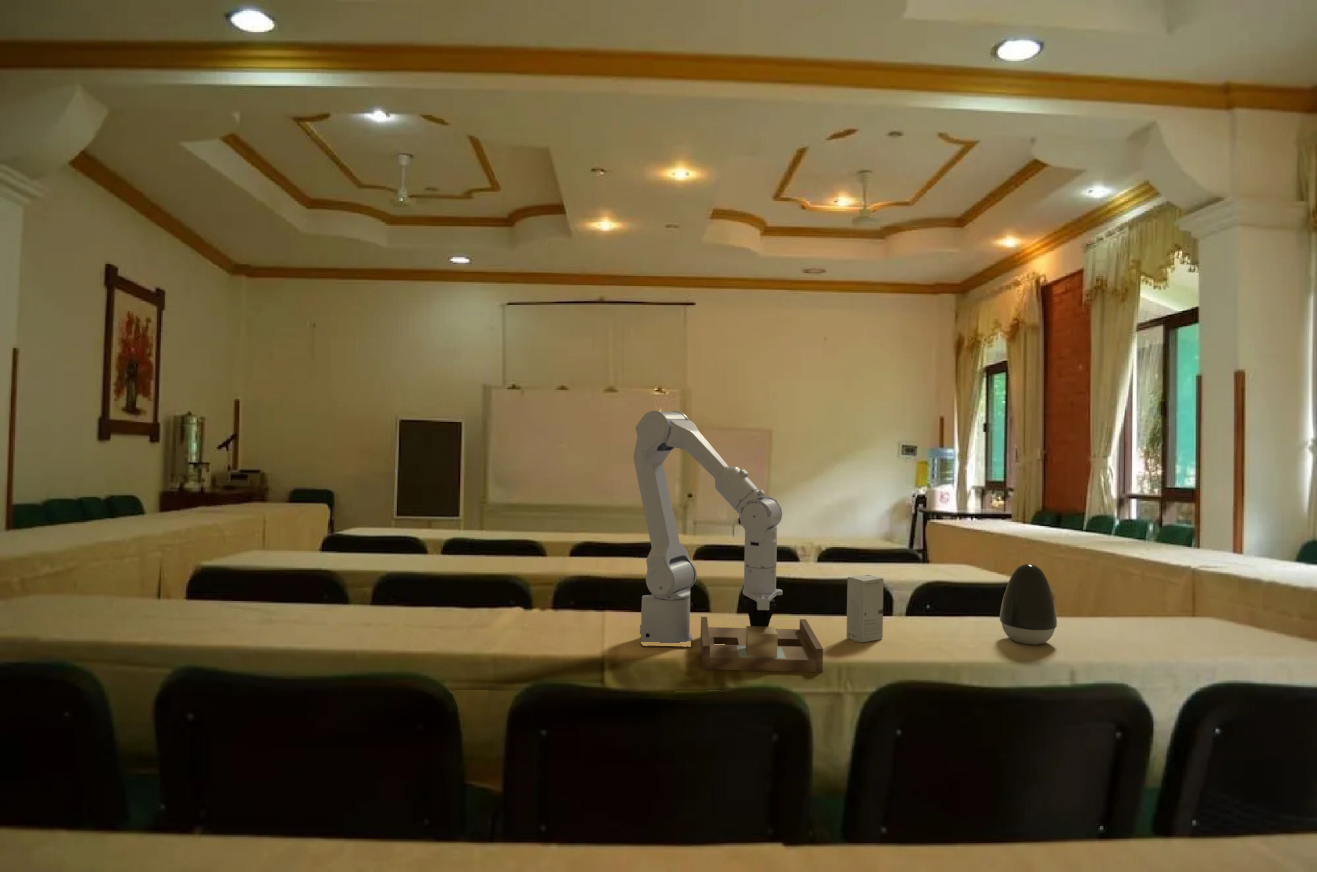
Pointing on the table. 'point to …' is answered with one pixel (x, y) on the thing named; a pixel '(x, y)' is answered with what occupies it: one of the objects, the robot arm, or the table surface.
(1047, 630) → the two-tone egg figurine
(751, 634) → the maple block
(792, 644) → the trap board
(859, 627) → the skincare box
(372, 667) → the table surface
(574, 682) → the table surface
